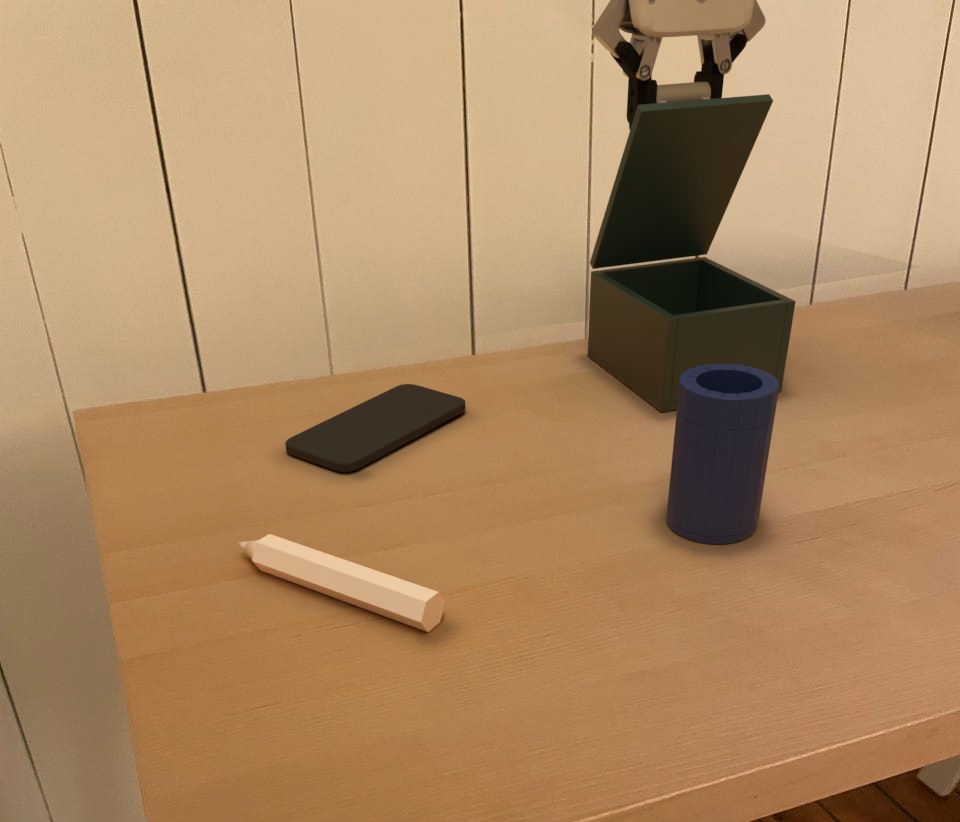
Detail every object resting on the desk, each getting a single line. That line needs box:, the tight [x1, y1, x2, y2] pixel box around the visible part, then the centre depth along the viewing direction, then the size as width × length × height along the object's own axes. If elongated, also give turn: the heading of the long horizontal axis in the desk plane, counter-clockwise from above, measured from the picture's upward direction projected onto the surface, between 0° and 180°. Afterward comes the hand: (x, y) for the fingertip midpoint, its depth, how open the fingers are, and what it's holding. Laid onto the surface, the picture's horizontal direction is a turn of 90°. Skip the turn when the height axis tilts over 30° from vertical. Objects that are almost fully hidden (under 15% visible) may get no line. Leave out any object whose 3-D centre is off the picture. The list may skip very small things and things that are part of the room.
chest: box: [587, 256, 796, 413], centre depth 89 cm, size 15×12×8 cm
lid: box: [589, 81, 774, 270], centre depth 86 cm, size 15×12×5 cm
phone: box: [284, 383, 466, 473], centre depth 82 cm, size 7×1×15 cm
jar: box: [666, 364, 780, 545], centre depth 66 cm, size 6×6×10 cm
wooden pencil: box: [233, 533, 446, 633], centre depth 62 cm, size 3×2×16 cm
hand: (672, 128), depth 83 cm, fingers closed on lid, 5 cm apart
